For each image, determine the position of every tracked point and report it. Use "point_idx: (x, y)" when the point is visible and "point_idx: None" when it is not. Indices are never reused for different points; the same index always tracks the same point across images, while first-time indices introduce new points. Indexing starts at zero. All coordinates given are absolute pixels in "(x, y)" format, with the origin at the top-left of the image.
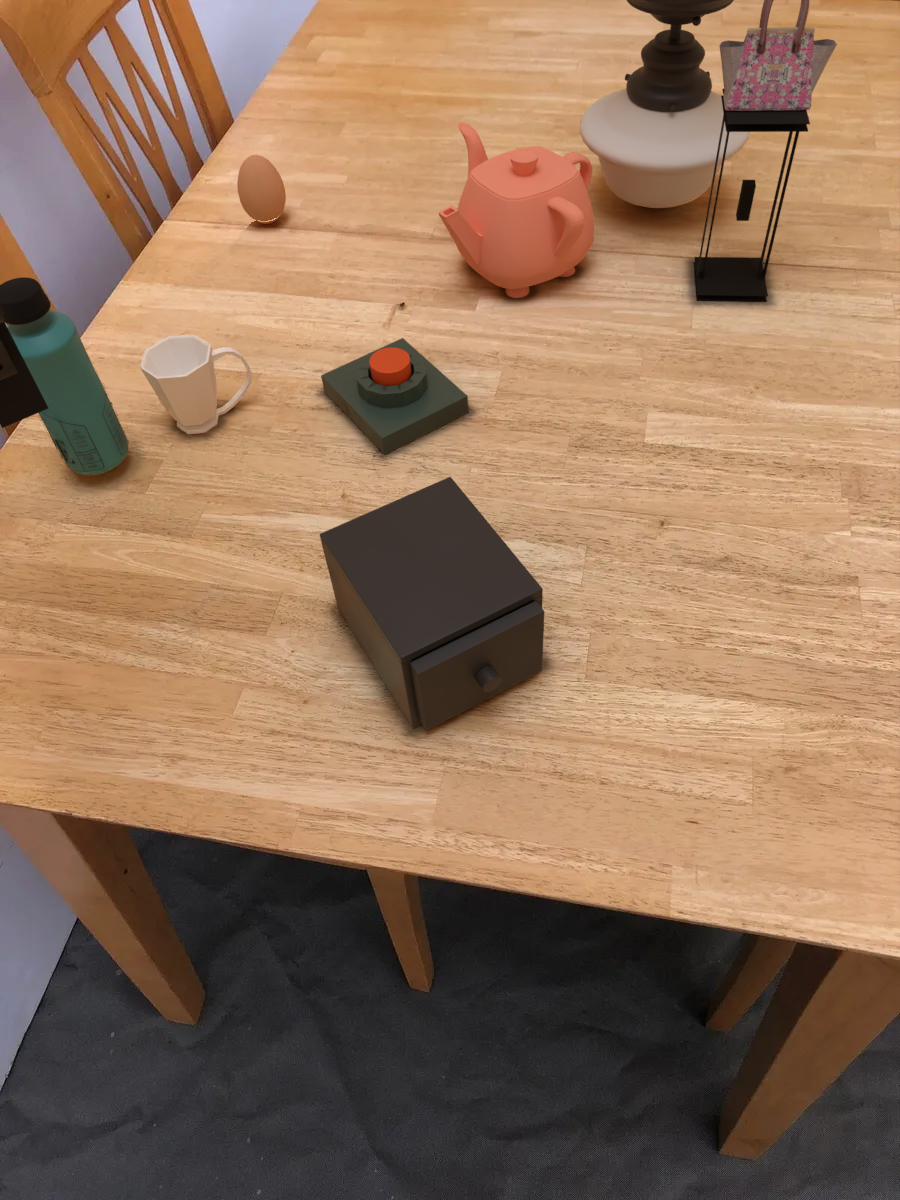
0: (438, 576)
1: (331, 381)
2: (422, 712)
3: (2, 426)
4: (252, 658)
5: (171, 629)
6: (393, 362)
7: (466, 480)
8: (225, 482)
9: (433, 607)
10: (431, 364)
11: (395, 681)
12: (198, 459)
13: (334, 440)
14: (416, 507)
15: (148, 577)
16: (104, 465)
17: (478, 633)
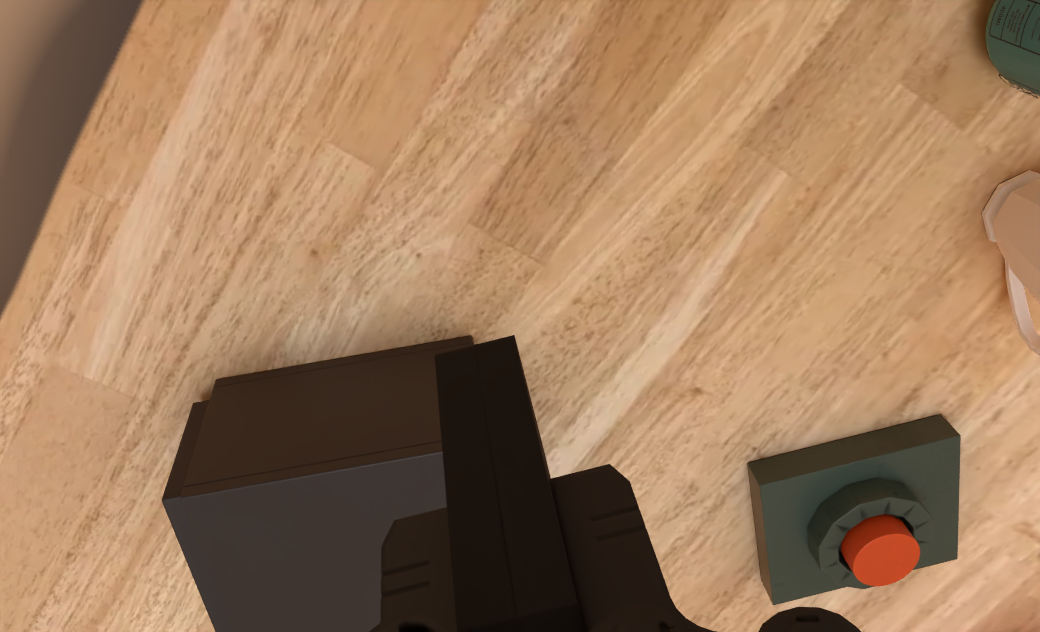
0: (324, 573)
1: (934, 447)
2: (186, 430)
3: (435, 359)
4: (429, 193)
5: (549, 74)
6: (877, 564)
7: None
8: (838, 225)
9: (265, 555)
10: None
11: (241, 418)
12: (923, 190)
13: (824, 404)
14: None
15: (689, 53)
16: (994, 35)
17: (212, 584)
